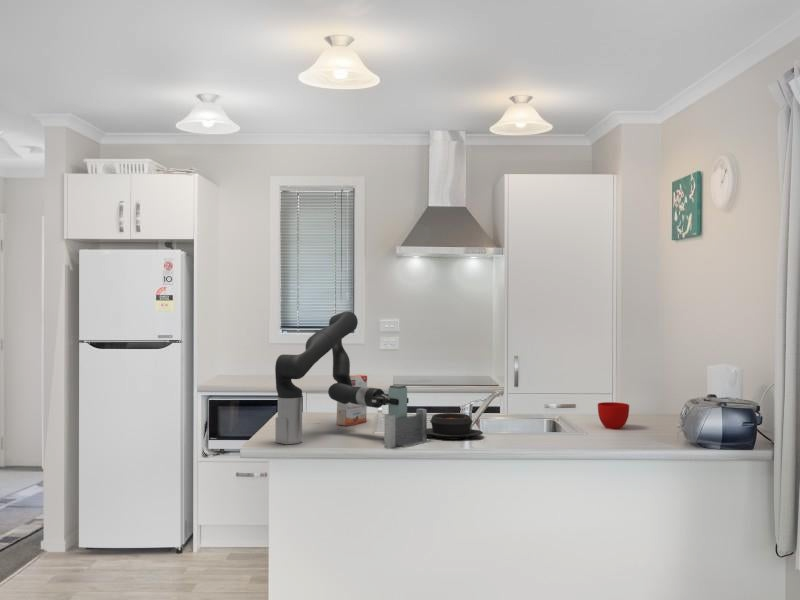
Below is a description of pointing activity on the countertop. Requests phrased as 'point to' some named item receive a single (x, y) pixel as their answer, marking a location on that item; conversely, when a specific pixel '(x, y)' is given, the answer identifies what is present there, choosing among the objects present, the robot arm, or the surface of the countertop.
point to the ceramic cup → (613, 414)
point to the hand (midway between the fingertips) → (403, 401)
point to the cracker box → (352, 406)
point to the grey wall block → (405, 429)
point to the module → (401, 395)
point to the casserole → (452, 426)
